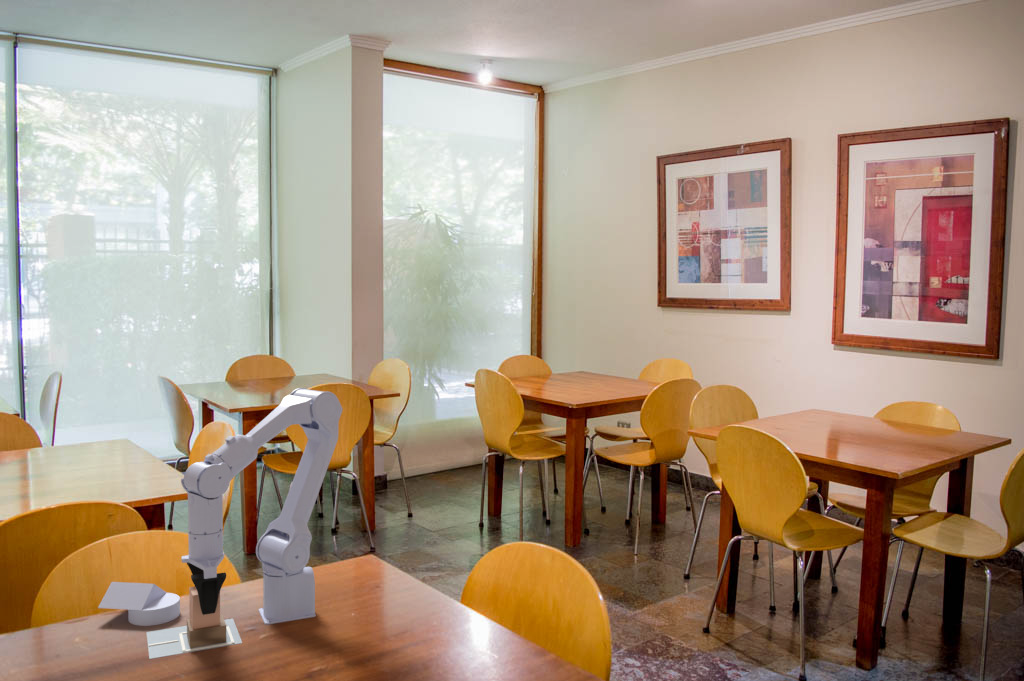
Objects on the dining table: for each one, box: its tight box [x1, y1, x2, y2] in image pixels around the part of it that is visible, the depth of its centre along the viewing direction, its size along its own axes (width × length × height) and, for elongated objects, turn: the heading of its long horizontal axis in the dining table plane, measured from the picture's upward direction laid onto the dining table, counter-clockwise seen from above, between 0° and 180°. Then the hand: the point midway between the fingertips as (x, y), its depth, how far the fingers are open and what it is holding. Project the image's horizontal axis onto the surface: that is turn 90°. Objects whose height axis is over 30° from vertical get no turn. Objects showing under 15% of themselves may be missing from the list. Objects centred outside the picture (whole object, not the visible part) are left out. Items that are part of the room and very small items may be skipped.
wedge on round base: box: [97, 581, 181, 627], centre depth 155 cm, size 9×7×13 cm
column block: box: [188, 586, 221, 629], centre depth 144 cm, size 4×4×6 cm
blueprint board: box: [145, 618, 243, 660], centre depth 145 cm, size 15×12×1 cm
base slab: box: [186, 613, 226, 648], centre depth 145 cm, size 6×6×3 cm
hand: (206, 605), depth 144 cm, fingers open, 7 cm apart
